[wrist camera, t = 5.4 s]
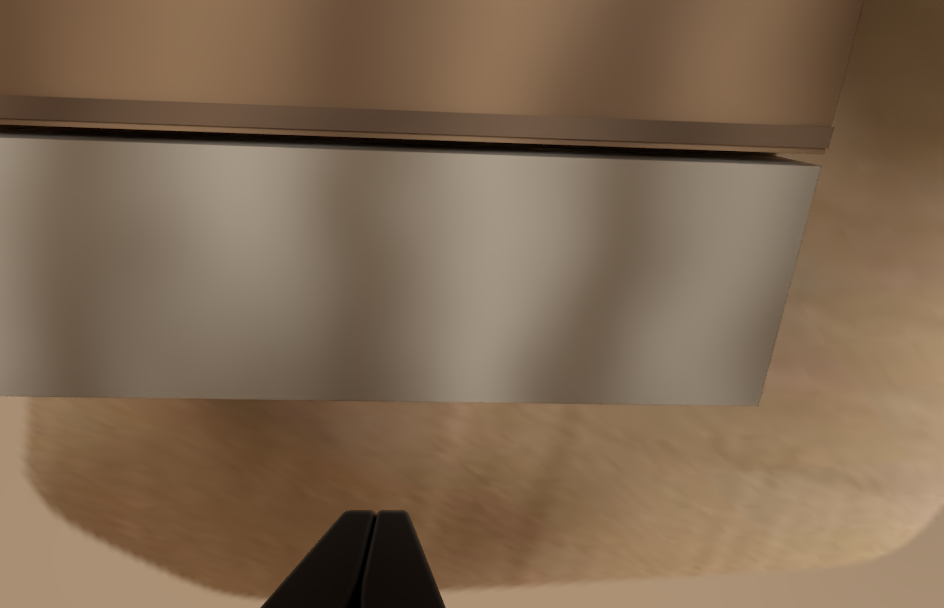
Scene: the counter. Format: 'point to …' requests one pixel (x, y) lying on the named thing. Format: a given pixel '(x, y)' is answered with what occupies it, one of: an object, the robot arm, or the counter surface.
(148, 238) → the grey plank
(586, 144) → the walnut plank
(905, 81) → the counter surface
